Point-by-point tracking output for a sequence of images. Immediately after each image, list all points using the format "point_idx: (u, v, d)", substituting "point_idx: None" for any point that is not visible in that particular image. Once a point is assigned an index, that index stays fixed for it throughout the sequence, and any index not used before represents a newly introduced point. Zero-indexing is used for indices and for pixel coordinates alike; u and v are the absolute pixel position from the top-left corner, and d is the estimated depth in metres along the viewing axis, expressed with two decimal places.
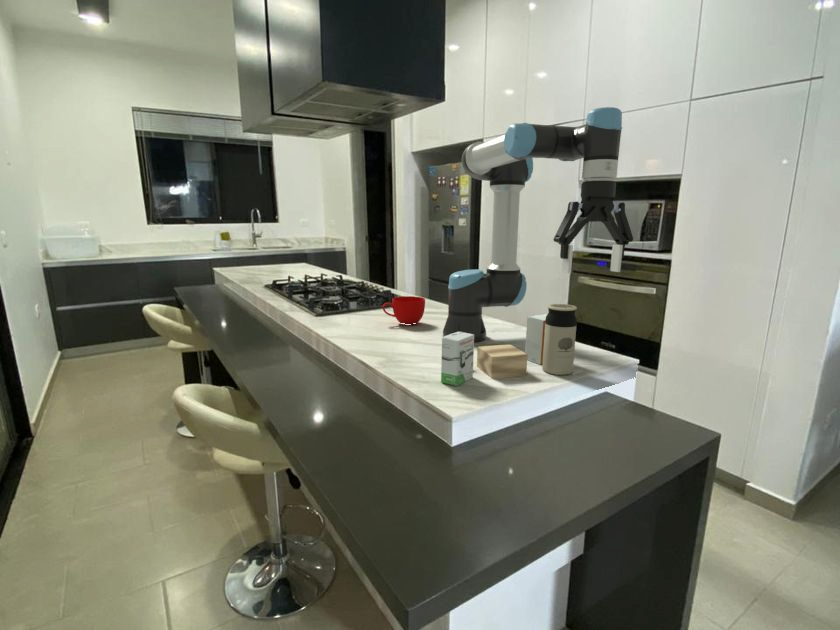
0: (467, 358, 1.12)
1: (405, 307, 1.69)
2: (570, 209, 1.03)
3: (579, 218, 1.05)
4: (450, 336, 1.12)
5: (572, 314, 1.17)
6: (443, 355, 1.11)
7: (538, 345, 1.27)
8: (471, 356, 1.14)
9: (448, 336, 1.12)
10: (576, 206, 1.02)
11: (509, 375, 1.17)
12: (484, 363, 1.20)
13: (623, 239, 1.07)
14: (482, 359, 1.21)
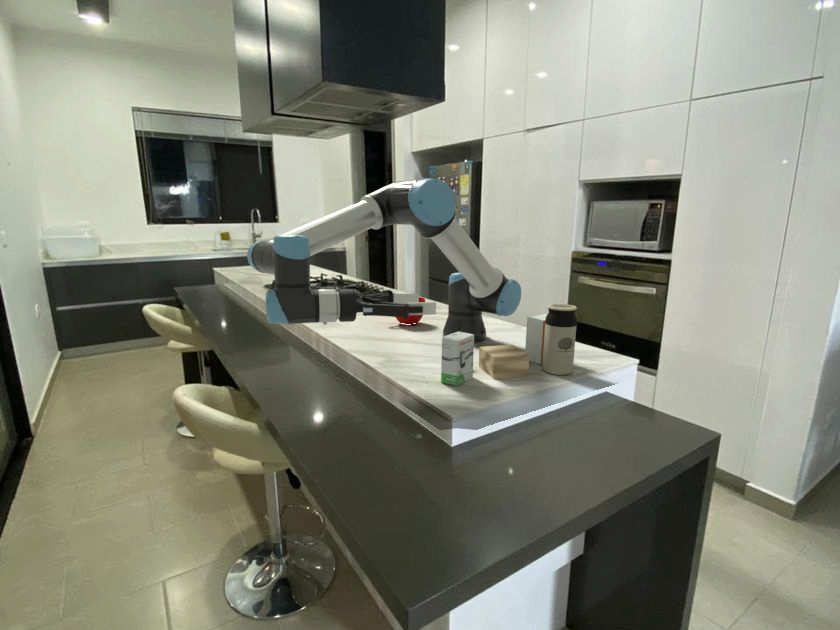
0: (467, 358, 1.12)
1: None
2: None
3: None
4: (450, 336, 1.12)
5: (572, 314, 1.17)
6: (443, 355, 1.11)
7: (538, 345, 1.27)
8: (471, 356, 1.14)
9: (448, 336, 1.12)
10: None
11: (511, 375, 1.17)
12: (486, 363, 1.20)
13: None
14: (484, 359, 1.21)
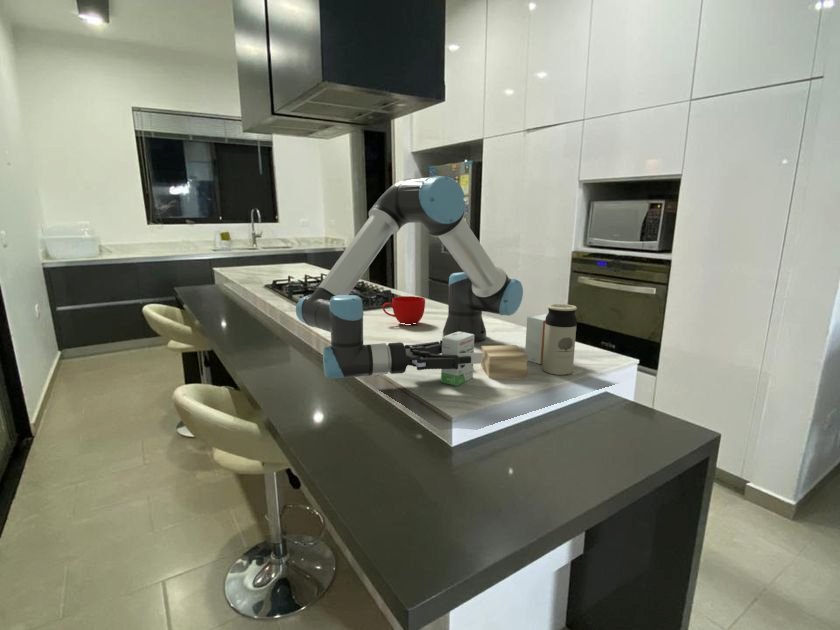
0: None
1: (405, 307, 1.69)
2: None
3: None
4: (450, 336, 1.11)
5: (572, 314, 1.17)
6: None
7: (538, 345, 1.27)
8: None
9: (448, 335, 1.12)
10: None
11: (508, 376, 1.17)
12: (485, 362, 1.21)
13: None
14: (484, 358, 1.22)
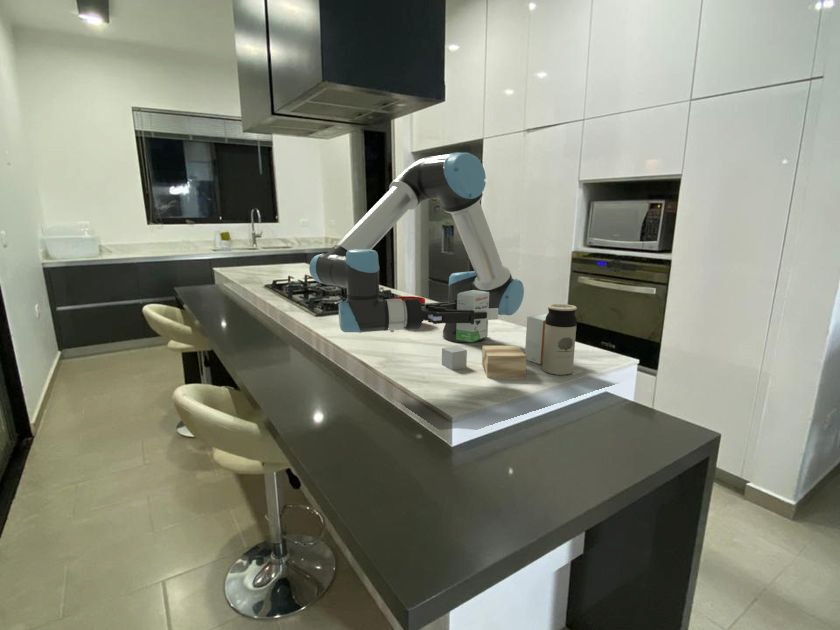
0: None
1: None
2: None
3: None
4: (465, 293, 1.11)
5: (572, 314, 1.17)
6: None
7: (538, 345, 1.27)
8: None
9: (463, 292, 1.11)
10: None
11: (506, 375, 1.17)
12: (484, 361, 1.21)
13: None
14: (484, 358, 1.22)
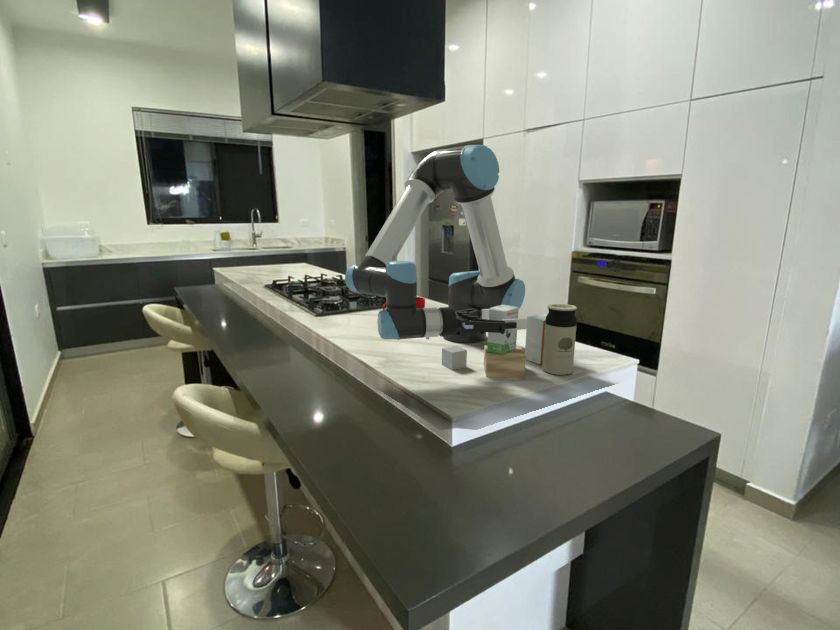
0: None
1: None
2: None
3: None
4: (497, 307, 1.18)
5: (572, 314, 1.17)
6: None
7: (538, 345, 1.27)
8: None
9: (494, 307, 1.18)
10: None
11: (505, 376, 1.17)
12: (485, 361, 1.21)
13: None
14: None
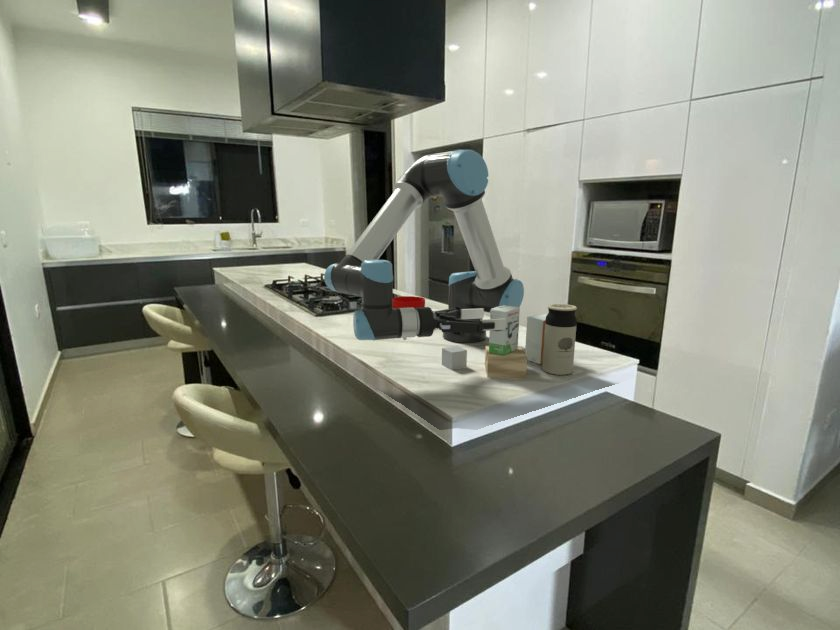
0: (513, 329, 1.19)
1: (405, 307, 1.69)
2: None
3: None
4: (498, 308, 1.18)
5: (572, 314, 1.17)
6: None
7: (538, 345, 1.27)
8: (517, 328, 1.21)
9: (495, 308, 1.18)
10: None
11: (507, 376, 1.17)
12: (486, 362, 1.21)
13: None
14: None
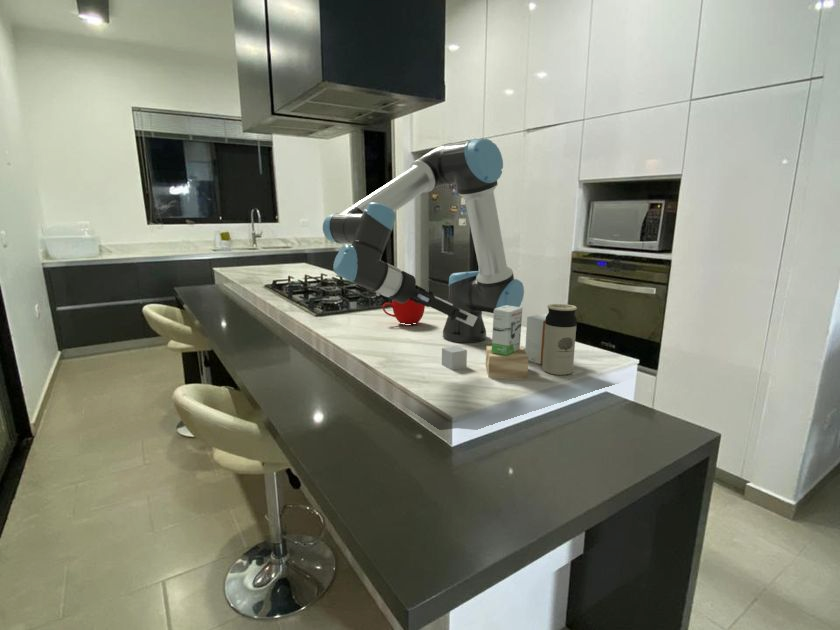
0: (516, 329, 1.18)
1: (405, 307, 1.69)
2: None
3: None
4: (501, 308, 1.17)
5: (572, 314, 1.17)
6: (494, 326, 1.17)
7: (538, 345, 1.27)
8: (519, 328, 1.20)
9: (499, 308, 1.18)
10: None
11: (508, 376, 1.17)
12: (487, 362, 1.21)
13: None
14: None
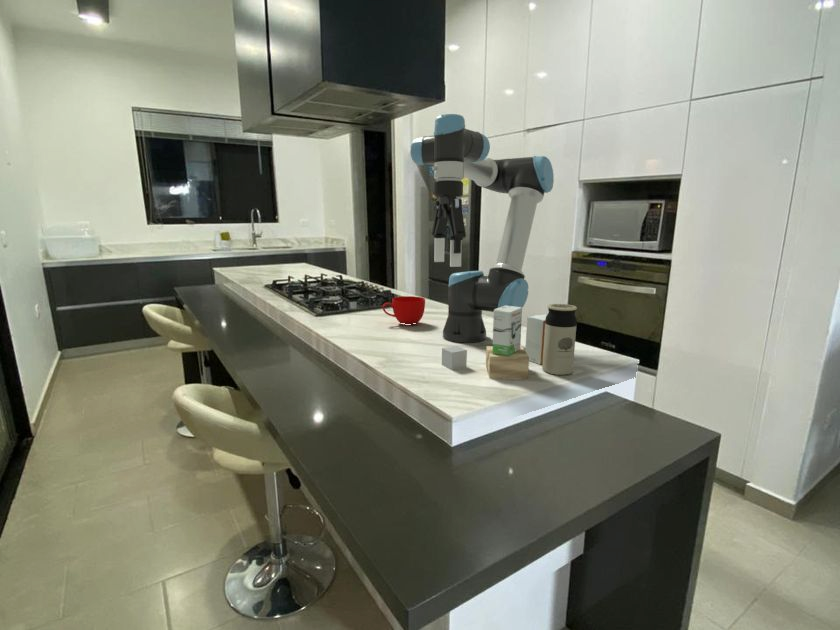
0: (516, 329, 1.18)
1: (405, 307, 1.69)
2: None
3: None
4: (501, 309, 1.17)
5: (572, 314, 1.17)
6: (495, 327, 1.16)
7: (538, 345, 1.27)
8: (519, 328, 1.20)
9: (498, 308, 1.17)
10: (436, 205, 1.21)
11: (509, 377, 1.16)
12: (487, 362, 1.21)
13: (452, 235, 1.10)
14: (487, 358, 1.22)
